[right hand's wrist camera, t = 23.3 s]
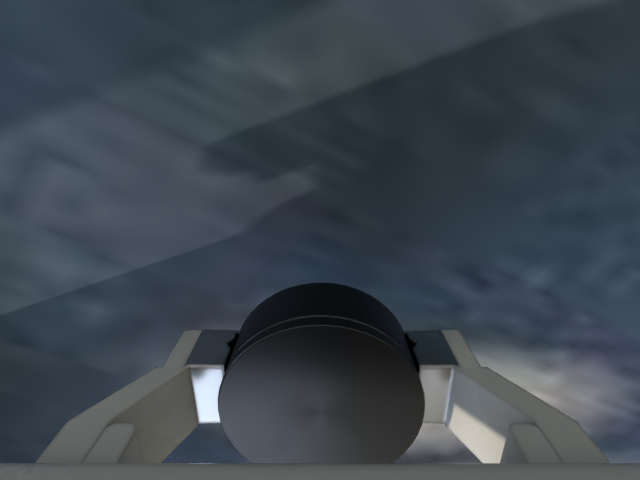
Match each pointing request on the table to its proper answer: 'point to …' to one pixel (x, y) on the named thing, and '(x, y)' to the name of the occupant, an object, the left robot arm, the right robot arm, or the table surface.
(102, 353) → the table surface
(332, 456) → the lid
